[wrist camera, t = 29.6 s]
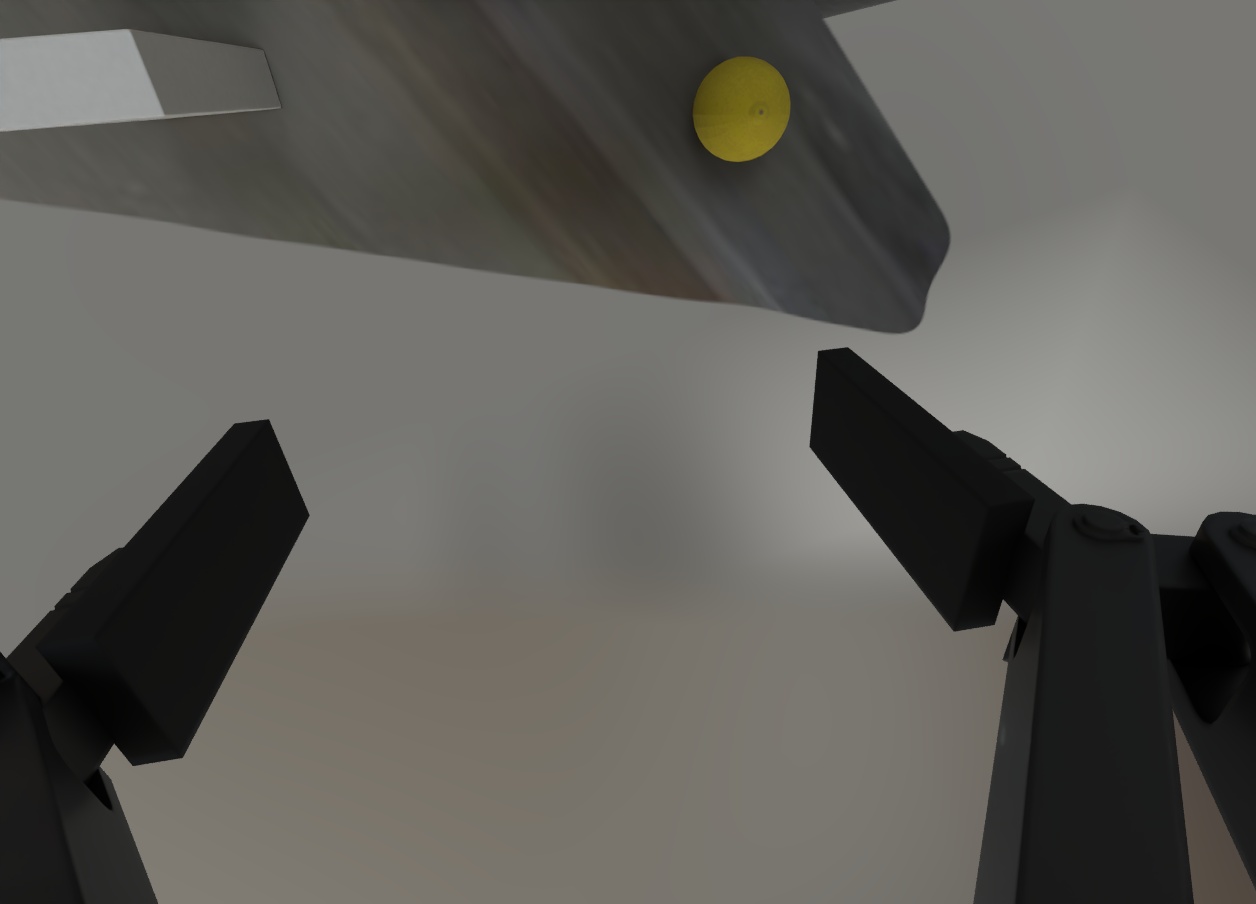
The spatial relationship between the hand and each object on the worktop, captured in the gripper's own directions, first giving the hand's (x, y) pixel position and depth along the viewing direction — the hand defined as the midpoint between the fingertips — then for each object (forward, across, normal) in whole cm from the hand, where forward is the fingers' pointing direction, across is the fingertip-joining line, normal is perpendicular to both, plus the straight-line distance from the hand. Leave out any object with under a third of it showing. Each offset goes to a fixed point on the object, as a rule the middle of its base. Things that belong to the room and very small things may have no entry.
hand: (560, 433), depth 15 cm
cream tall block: (+32, -18, +9) cm, 38 cm away
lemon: (+32, +13, +5) cm, 35 cm away
